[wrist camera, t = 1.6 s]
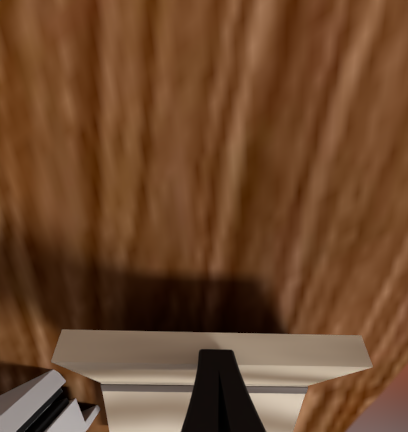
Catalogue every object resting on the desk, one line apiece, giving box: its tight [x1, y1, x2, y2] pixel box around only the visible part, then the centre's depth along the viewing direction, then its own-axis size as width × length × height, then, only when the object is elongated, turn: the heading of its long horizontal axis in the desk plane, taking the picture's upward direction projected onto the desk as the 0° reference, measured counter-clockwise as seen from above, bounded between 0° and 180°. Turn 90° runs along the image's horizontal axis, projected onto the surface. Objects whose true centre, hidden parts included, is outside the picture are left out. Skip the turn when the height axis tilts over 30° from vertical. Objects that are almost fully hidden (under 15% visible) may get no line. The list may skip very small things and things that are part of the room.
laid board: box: [101, 382, 308, 432], centre depth 17 cm, size 7×13×1 cm, turn 87°
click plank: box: [51, 329, 373, 385], centre depth 13 cm, size 7×13×1 cm, turn 88°
